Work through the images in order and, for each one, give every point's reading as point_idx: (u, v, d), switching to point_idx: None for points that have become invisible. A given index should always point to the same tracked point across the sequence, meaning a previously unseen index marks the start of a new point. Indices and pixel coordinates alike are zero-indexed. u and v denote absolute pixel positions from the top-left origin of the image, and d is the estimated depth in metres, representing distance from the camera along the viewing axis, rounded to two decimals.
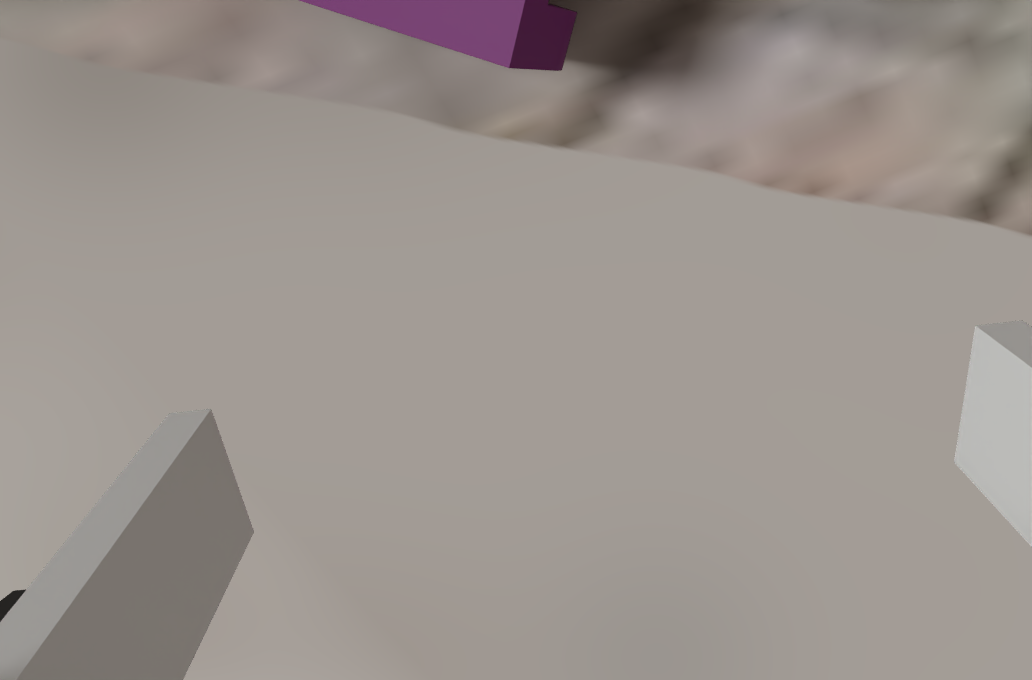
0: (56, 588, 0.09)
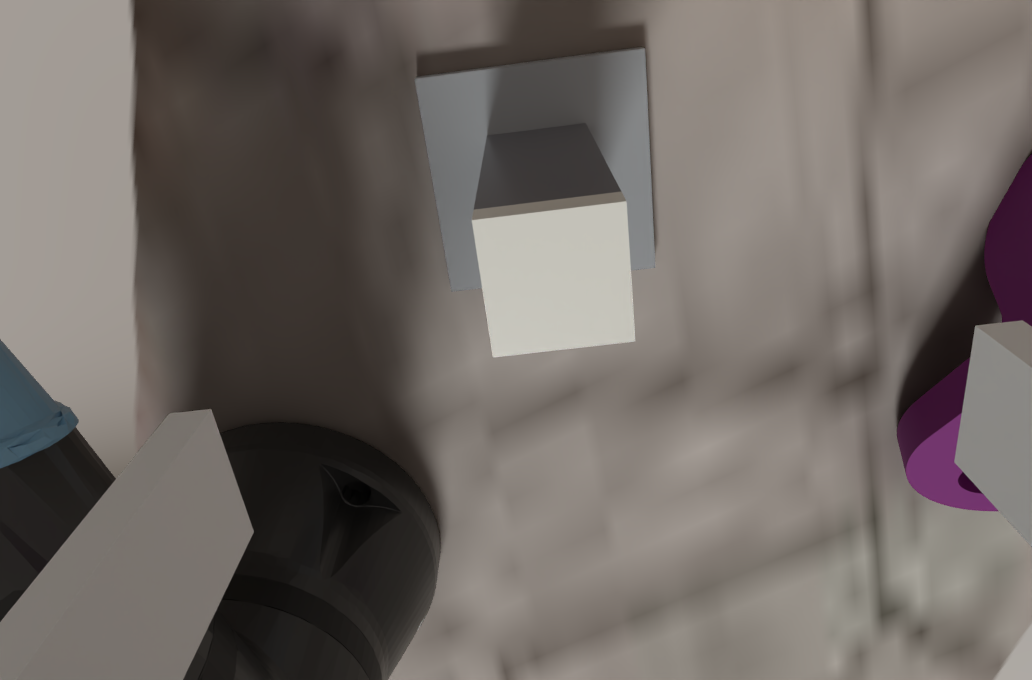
0: (56, 588, 0.09)
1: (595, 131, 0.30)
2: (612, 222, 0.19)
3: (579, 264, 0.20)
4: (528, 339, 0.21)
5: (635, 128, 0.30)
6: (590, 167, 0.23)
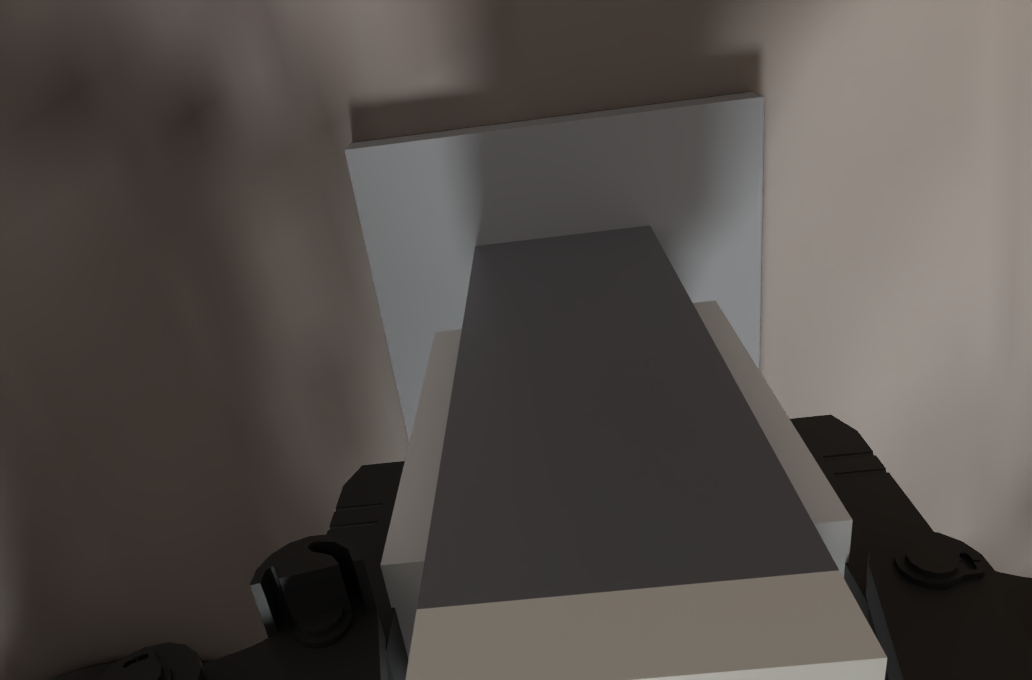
0: (434, 450, 0.11)
1: (667, 239, 0.17)
2: None
3: None
4: None
5: (738, 234, 0.17)
6: (704, 401, 0.10)
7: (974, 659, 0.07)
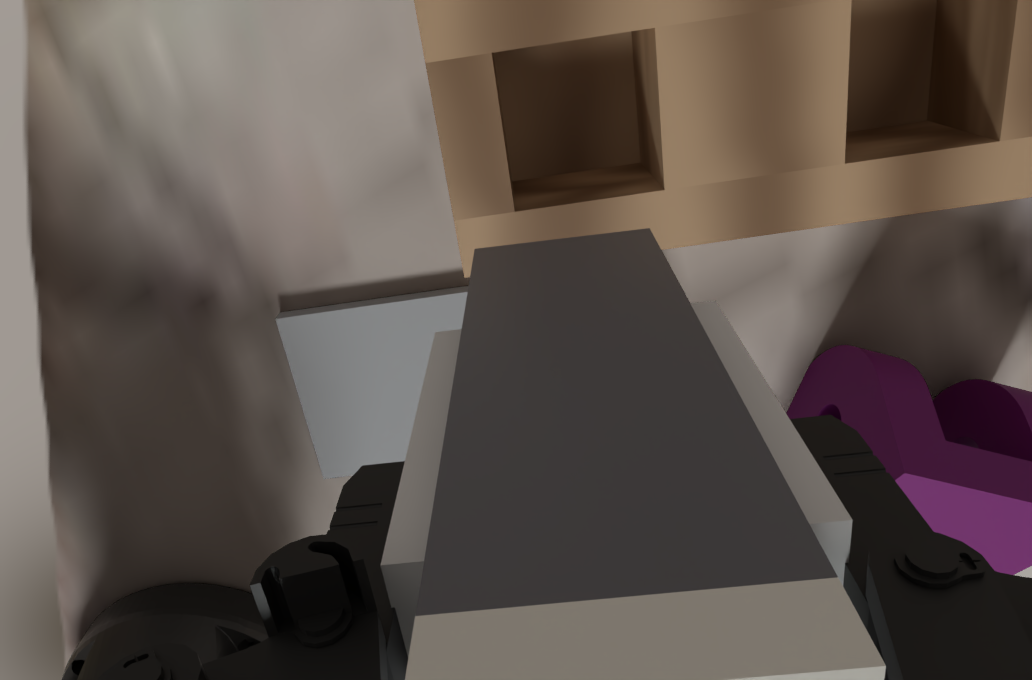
0: (433, 450, 0.11)
1: None
2: None
3: None
4: None
5: None
6: (703, 406, 0.10)
7: (974, 659, 0.07)
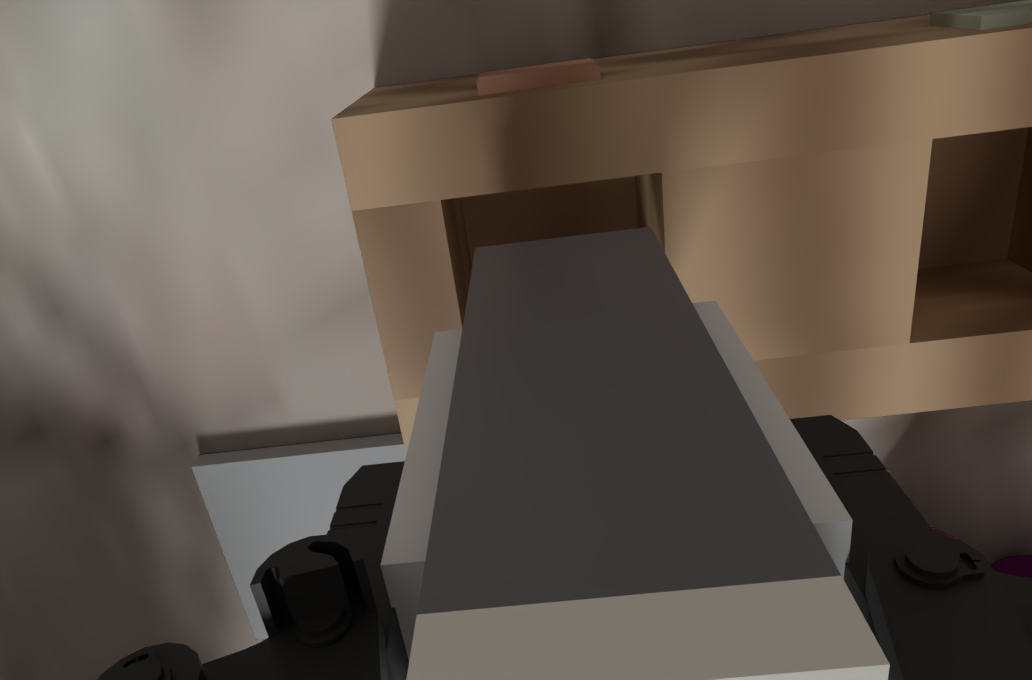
0: (434, 450, 0.11)
1: None
2: None
3: None
4: None
5: None
6: (705, 405, 0.10)
7: (974, 659, 0.07)
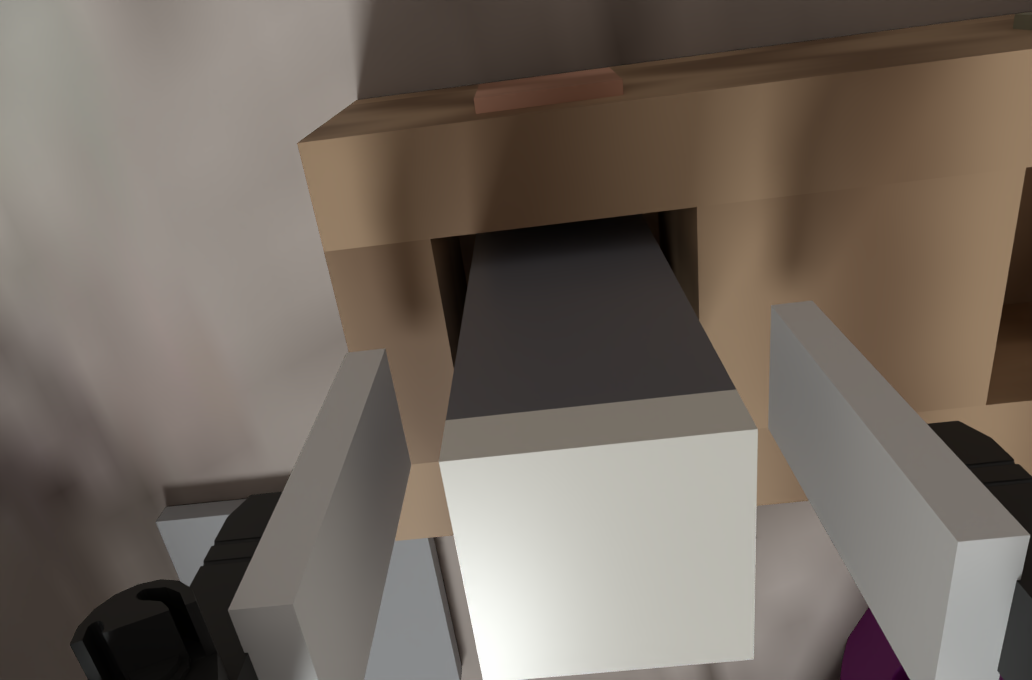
0: (313, 483, 0.10)
1: None
2: (726, 465, 0.09)
3: (654, 537, 0.10)
4: (551, 655, 0.11)
5: (418, 565, 0.26)
6: (657, 302, 0.13)
7: None
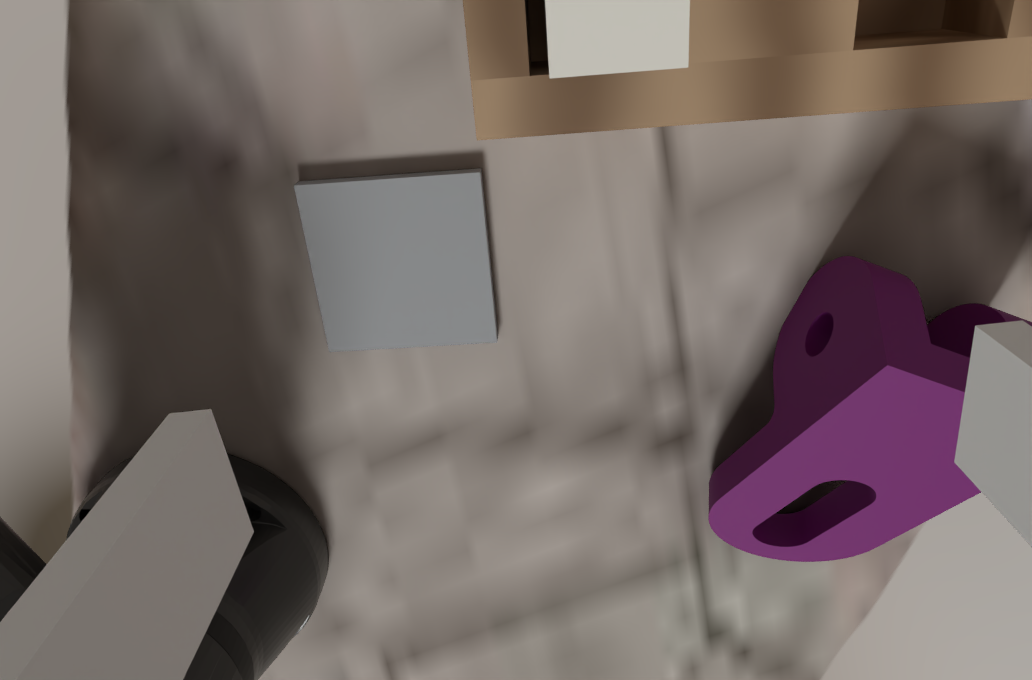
0: (56, 588, 0.09)
1: (442, 233, 0.37)
2: None
3: None
4: (585, 60, 0.21)
5: (475, 233, 0.37)
6: None
7: None
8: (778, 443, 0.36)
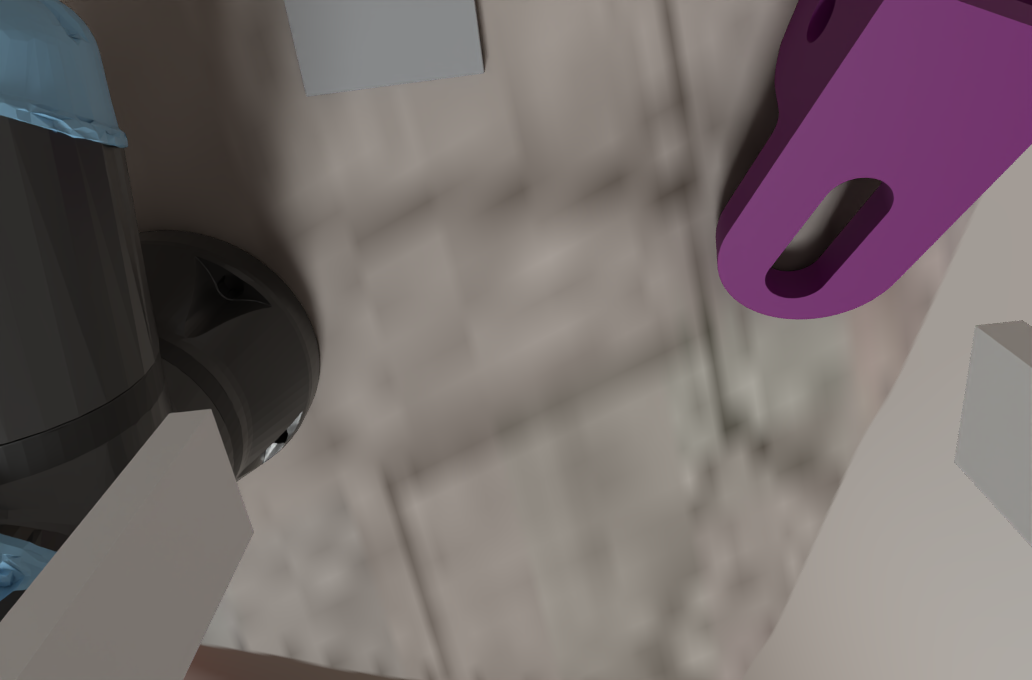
0: (56, 588, 0.09)
1: None
2: None
3: None
4: None
5: None
6: None
7: None
8: (786, 138, 0.33)
